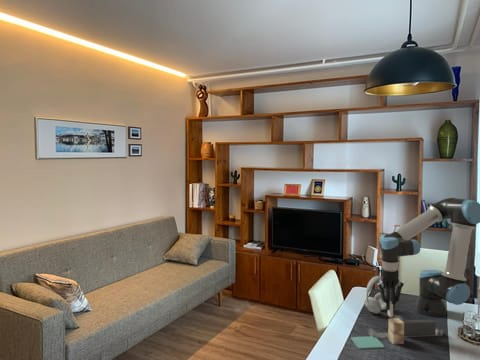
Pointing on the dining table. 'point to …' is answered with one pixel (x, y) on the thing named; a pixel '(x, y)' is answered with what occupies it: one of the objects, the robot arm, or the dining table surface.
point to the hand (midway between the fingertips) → (390, 315)
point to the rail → (385, 335)
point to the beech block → (396, 331)
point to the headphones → (374, 303)
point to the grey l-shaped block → (418, 326)
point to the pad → (367, 342)
